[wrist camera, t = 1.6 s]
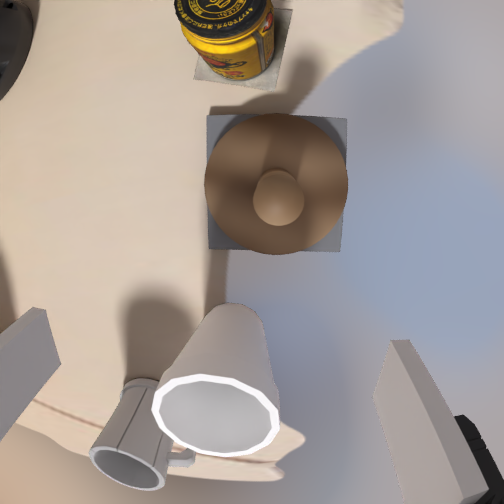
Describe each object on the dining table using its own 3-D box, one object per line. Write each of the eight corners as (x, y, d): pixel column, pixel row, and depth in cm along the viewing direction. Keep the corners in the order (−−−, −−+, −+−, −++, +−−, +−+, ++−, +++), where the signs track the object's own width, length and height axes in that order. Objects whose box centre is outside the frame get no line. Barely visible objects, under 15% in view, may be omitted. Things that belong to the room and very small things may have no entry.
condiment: (193, 79, 25) (144, 41, 14) (214, 1, 23) (183, -67, 11) (274, 92, 26) (276, 55, 14) (292, 12, 23) (303, -58, 11)
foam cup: (261, 277, 31) (255, 361, 19) (289, 351, 34) (295, 446, 21) (174, 303, 32) (128, 385, 20) (209, 371, 35) (186, 460, 23)
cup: (166, 362, 35) (133, 438, 24) (211, 411, 37) (195, 487, 26) (111, 386, 37) (74, 450, 26) (154, 429, 40) (130, 493, 28)
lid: (206, 115, 26) (177, 102, 17) (347, 118, 25) (380, 107, 17) (208, 248, 29) (184, 290, 21) (339, 252, 29) (365, 295, 20)
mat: (208, 116, 26) (206, 115, 26) (344, 119, 26) (346, 118, 25) (210, 246, 30) (208, 248, 29) (338, 249, 30) (340, 252, 29)
